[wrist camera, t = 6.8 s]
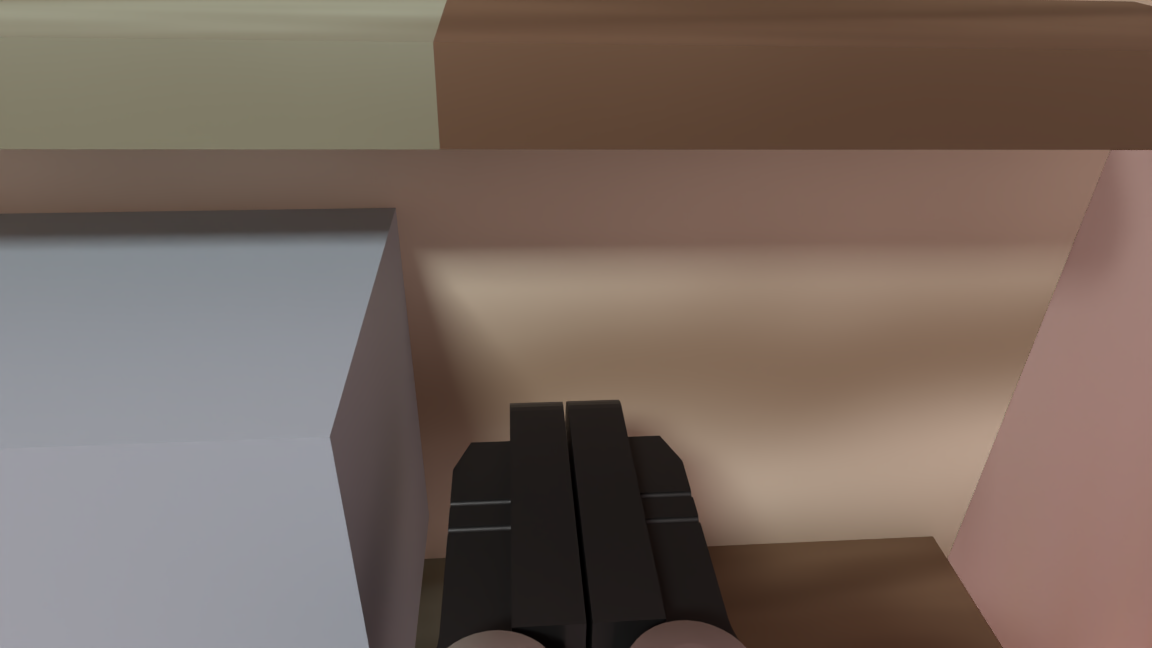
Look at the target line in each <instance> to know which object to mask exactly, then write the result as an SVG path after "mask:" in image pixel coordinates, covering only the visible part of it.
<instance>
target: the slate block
mask: <svg viewBox="0 0 1152 648" xmlns="http://www.w3.org/2000/svg"><path fill="white" fill-rule="evenodd" d="M428 521H429V510H428V501H427V492H426V483H425V473H424V464H423V455H422V446H421V437H420V427H419V418H418V409H417V400H416V391H415V381H414V372H413V363H412V354H411V345H410V335H409V326H408V317H407V308H406V299H405V289H404V280H403V271H402V262H401V252H400V243H399V234H398V225H397V216H396V208H349V209H282V210H215V211H148V212H81V213H14V214H0V648H415V643H416V633H417V624H418V615H419V605H420V596H421V587H422V577H423V568H424V559H425V549H426V540H427V531H428Z"/></svg>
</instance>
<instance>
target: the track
mask: <svg viewBox="0 0 1152 648" xmlns="http://www.w3.org/2000/svg"><path fill="white" fill-rule="evenodd" d="M1110 150H1152V0H0V214H14V213H81V212H148V211H215V210H282V209H349V208H396V216H397V225H398V234H399V243H400V252H401V262H402V271H403V280H404V289H405V299H406V308H407V317H408V326H409V335H410V345H411V354H412V363H413V372H414V381H415V391H416V400H417V409H418V418H419V427H420V437H421V446H422V455H423V464H424V473H425V483H426V492H427V501H428V510H429V521H428V531H427V540H426V549H425V559H424V568H423V577H422V587H421V596H420V605H419V615H418V624H417V633H416V643H415V648H437V645H438V639H439V632H440V620H441V608H442V596H443V584H444V571H445V559H446V547H447V535H448V523H449V511H450V498H451V486H452V474H453V469H454V467H455V466H456V464H457V463H458V461H459V460H460V458H461V457H462V455H463V454H464V452H465V451H466V449H467V448H468V446H469V445H470V443H471V442H499V441H510V403H531V402H563V407H564V416H565V410H566V401H587V400H620V402H621V406H622V410H623V415H624V420H625V425H626V429H627V434H628V437H633V436H661V438H662V439H663V440H664V441H665V442H666V443H667V444H668V445H669V446H670V448H671V449H672V450H673V451H674V452H675V453H676V454H677V455H678V456H679V457H680V459H681V460H682V461H683V464H684V468H685V471H686V475H687V478H688V481H689V485H690V488H691V496H692V497H693V499H694V502H695V506H696V509H697V512H698V519H699V522H700V523H701V526H702V530H703V533H704V537H705V540H706V543H707V547H708V550H709V554H710V557H711V561H712V564H713V568H714V571H715V574H716V578H717V581H718V585H719V588H720V592H721V595H722V598H723V602H724V605H725V609H726V612H727V616H728V619H729V621H730V624H731V627H732V629H733V631H734V632H735V634H736V636H737V638H738V639H739V641H740V642H741V643H742V644H743V645H744V646H745V647H746V648H1003V647H1002V646H1001V644H1000V643H999V641H998V640H997V638H996V636H995V635H994V633H993V632H992V630H991V628H990V627H989V625H988V624H987V622H986V620H985V619H984V617H983V616H982V614H981V612H980V611H979V609H978V608H977V606H976V604H975V603H974V601H973V600H972V598H971V596H970V595H969V593H968V592H967V590H966V588H965V587H964V585H963V584H962V582H961V580H960V579H959V577H958V576H957V574H956V572H955V571H954V569H953V568H952V566H951V564H950V563H949V561H948V560H947V559H948V556H949V554H950V551H951V549H952V546H953V544H954V541H955V539H956V536H957V534H958V531H959V529H960V526H961V524H962V521H963V519H964V516H965V514H966V511H967V509H968V506H969V504H970V501H971V499H972V496H973V494H974V491H975V489H976V486H977V484H978V481H979V479H980V476H981V474H982V471H983V469H984V466H985V464H986V461H987V458H988V456H989V453H990V451H991V448H992V446H993V443H994V441H995V438H996V436H997V433H998V431H999V428H1000V426H1001V423H1002V421H1003V418H1004V416H1005V413H1006V411H1007V408H1008V406H1009V403H1010V401H1011V398H1012V396H1013V393H1014V391H1015V388H1016V386H1017V383H1018V381H1019V378H1020V376H1021V373H1022V371H1023V368H1024V366H1025V363H1026V361H1027V358H1028V356H1029V353H1030V351H1031V348H1032V346H1033V343H1034V341H1035V338H1036V336H1037V333H1038V331H1039V328H1040V326H1041V323H1042V321H1043V318H1044V316H1045V313H1046V311H1047V308H1048V306H1049V303H1050V301H1051V298H1052V296H1053V293H1054V291H1055V288H1056V286H1057V283H1058V281H1059V278H1060V276H1061V273H1062V271H1063V268H1064V266H1065V263H1066V261H1067V258H1068V256H1069V253H1070V251H1071V248H1072V245H1073V243H1074V240H1075V238H1076V235H1077V233H1078V230H1079V228H1080V225H1081V223H1082V220H1083V218H1084V215H1085V213H1086V210H1087V208H1088V205H1089V203H1090V200H1091V198H1092V195H1093V193H1094V190H1095V188H1096V185H1097V183H1098V180H1099V178H1100V175H1101V173H1102V170H1103V168H1104V165H1105V163H1106V160H1107V158H1108V155H1109V153H1110Z"/></svg>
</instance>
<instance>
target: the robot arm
mask: <svg viewBox="0 0 1152 648" xmlns="http://www.w3.org/2000/svg"><path fill="white" fill-rule="evenodd" d="M437 648H746V647H745V646H744V645H743V644H742V643H741V642H740V641H739V639H738V638H737V636H736V634H735V632H734V631H733V629H732V627H731V624H730V621H729V619H728V616H727V612H726V609H725V605H724V602H723V598H722V595H721V592H720V588H719V585H718V581H717V578H716V574H715V571H714V568H713V564H712V561H711V557H710V554H709V550H708V547H707V543H706V540H705V537H704V533H703V530H702V526H701V523H700V522H699V519H698V512H697V509H696V506H695V502H694V499H693V497H692V496H691V488H690V485H689V481H688V478H687V475H686V471H685V468H684V464H683V461H682V460H681V459H680V457H679V456H678V455H677V454H676V453H675V452H674V451H673V450H672V449H671V448H670V446H669V445H668V444H667V443H666V442H665V441H664V440H663V439H662V438H661V436H633V437H628V434H627V429H626V425H625V420H624V415H623V410H622V406H621V402H620V400H587V401H566V410H565V416H564V407H563V402H531V403H510V441H499V442H471V443H470V445H469V446H468V448H467V449H466V451H465V452H464V454H463V455H462V457H461V458H460V460H459V461H458V463H457V464H456V466H455V467H454V469H453V474H452V486H451V498H450V511H449V523H448V535H447V547H446V559H445V571H444V584H443V596H442V608H441V620H440V632H439V639H438V645H437Z"/></svg>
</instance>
